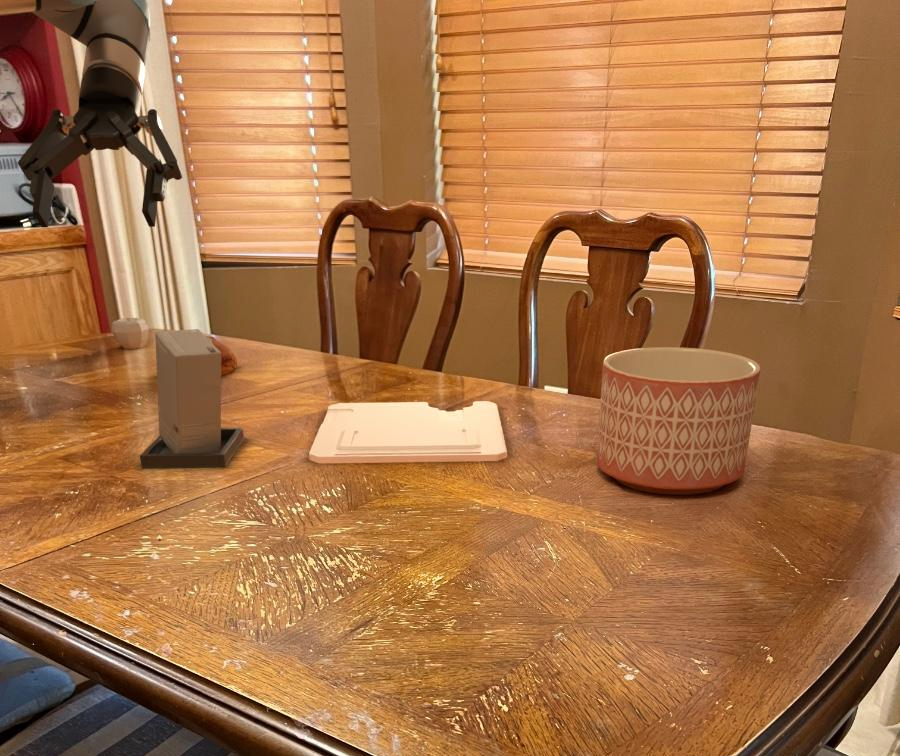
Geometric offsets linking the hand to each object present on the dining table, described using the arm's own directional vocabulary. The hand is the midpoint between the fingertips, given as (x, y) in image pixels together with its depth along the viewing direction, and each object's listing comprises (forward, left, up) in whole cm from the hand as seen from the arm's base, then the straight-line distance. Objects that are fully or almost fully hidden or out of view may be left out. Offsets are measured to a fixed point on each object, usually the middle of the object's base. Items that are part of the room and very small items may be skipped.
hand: (94, 219), depth 108 cm
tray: (+39, +11, -32) cm, 51 cm away
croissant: (-4, +53, -32) cm, 62 cm away
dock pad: (+8, +2, -31) cm, 32 cm away
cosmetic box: (+7, +2, -30) cm, 31 cm away
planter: (+74, -9, -32) cm, 81 cm away
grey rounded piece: (-25, +78, -32) cm, 88 cm away
